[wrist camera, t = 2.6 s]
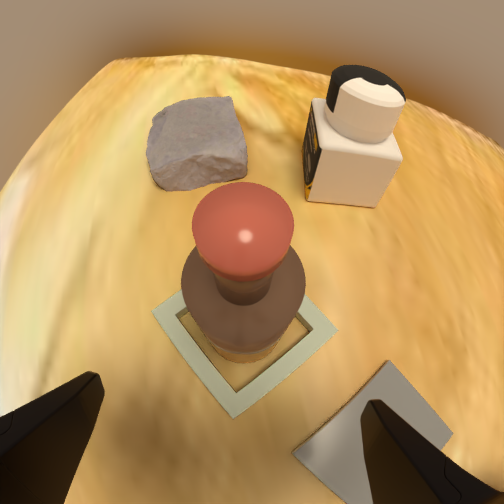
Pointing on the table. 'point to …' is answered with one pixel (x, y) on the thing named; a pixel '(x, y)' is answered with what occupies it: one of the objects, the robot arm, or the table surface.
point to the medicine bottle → (352, 138)
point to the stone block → (196, 144)
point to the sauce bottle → (243, 271)
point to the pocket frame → (264, 382)
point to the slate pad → (350, 437)
